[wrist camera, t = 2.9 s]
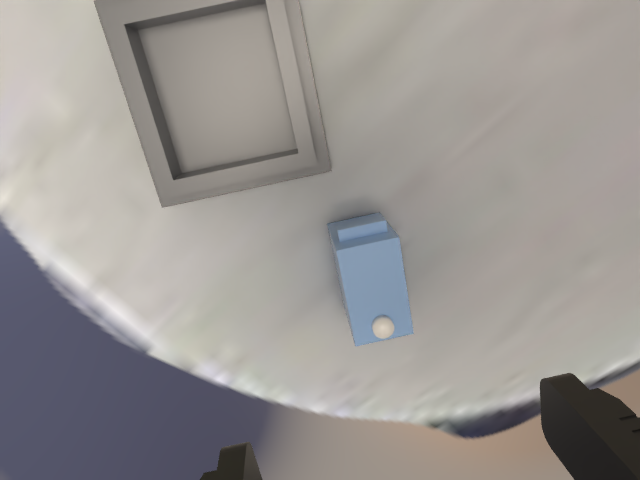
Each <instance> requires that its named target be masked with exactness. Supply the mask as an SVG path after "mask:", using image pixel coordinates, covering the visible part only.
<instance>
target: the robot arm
mask: <svg viewBox="0 0 640 480" xmlns="http://www.w3.org/2000/svg"><path fill="white" fill-rule="evenodd" d="M540 400H541V423H542V429H543V433H544V435H545V438H546V440H547V442H548V444H549V446H550V447H551V449H552V450H553V452H554V453H555V454H556V455H557V457H558V458H559V460H560V461H561V462H562V463H563V465H564V466H565V467H566V469H567V470H568V472H569V473H570V474H571V476H572V477H573V478H574V480H640V418H637V416H636V414H635V413H634V412H633V411H632V410H631V409H630V408H628V407H627V406H626V405H625V404H624V403H623V402H622V401H621V400H620V399H618V398H616V397H614V396H612V395H610V394H608V393H606V392H604V391H602V390H600V389H599V388H596V389H592V390H589V389H588V388H587V387H586V386H585V385H584V384H583V383H582V382H581V381H580V380H579V379H578V378H577V377H576V376H575V375H573V374H571V373H567V374H562V375H558V376H553V377H549V378H544V379H542V380H541V382H540ZM200 480H262V477H261V474H260V471H259V467H258V464H257V461H256V458H255V455H254V451H253V448H252V446H251V444H250V442H246V443H241V444H236V445H231V446H227V447H223V448H222V449H221V451H220V456H219V461H218V467H217V470H216V471H211V472H207V473H204V474H203V476H202V477H201V479H200Z"/></svg>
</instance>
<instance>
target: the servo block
mask: <svg viewBox="0 0 640 480" xmlns="http://www.w3.org/2000/svg"><path fill="white" fill-rule="evenodd" d="M327 225H328V230H329V235H330V240H331V245H332V250H333V254H334V259H335V264H336V269H337V274H338V279H339V284H340V289H341V293H342V298H343V303H344V307H345V311H346V315H347V318H348V322H349V325H350V329H351V332H352V336H353V339H354V343H355V346H360V345H364V344H369V343H373V342H378V341H382V340H387V339H392V338H396V337H401V336H405V335H410V334H414V333H413V326H412V319H411V313H410V306H409V299H408V293H407V286H406V279H405V273H404V266H403V260H402V253H401V246H400V240H399V236H398V235H397V234H396V233H395V231H394V230H393V229H392V227H391V226H390V225H389V224H388V222H387V221H386V220H385V218H384V217H383V216H382V215H381V214H380V212H379V213H374V214H370V215H365V216H360V217H356V218H351V219H347V220H342V221H337V222H333V223H328V224H327Z"/></svg>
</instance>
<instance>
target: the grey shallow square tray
mask: <svg viewBox="0 0 640 480" xmlns="http://www.w3.org/2000/svg"><path fill="white" fill-rule="evenodd" d="M94 3H95V7H96V10H97V13H98V16H99V19H100V22H101V25H102V28H103V31H104V34H105V37H106V40H107V43H108V46H109V49H110V52H111V55H112V58H113V61H114V64H115V67H116V70H117V73H118V76H119V79H120V82H121V85H122V88H123V91H124V94H125V97H126V100H127V103H128V106H129V109H130V112H131V115H132V118H133V121H134V124H135V127H136V130H137V133H138V136H139V139H140V142H141V146H142V149H143V152H144V155H145V158H146V161H147V164H148V167H149V170H150V173H151V176H152V179H153V182H154V185H155V188H156V191H157V194H158V197H159V200H160V203H161V206H162V208H163V207H167V206H172V205H177V204H181V203H186V202H191V201H195V200H200V199H204V198H209V197H214V196H218V195H223V194H228V193H232V192H237V191H241V190H246V189H251V188H255V187H260V186H265V185H269V184H274V183H278V182H283V181H288V180H292V179H297V178H302V177H306V176H311V175H315V174H320V173H325V172H329V171H332V170H331V165H330V160H329V155H328V150H327V145H326V139H325V134H324V129H323V124H322V119H321V114H320V108H319V103H318V98H317V93H316V88H315V83H314V78H313V72H312V67H311V62H310V57H309V52H308V47H307V41H306V36H305V31H304V26H303V21H302V16H301V11H300V5H299V0H95V1H94Z"/></svg>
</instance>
